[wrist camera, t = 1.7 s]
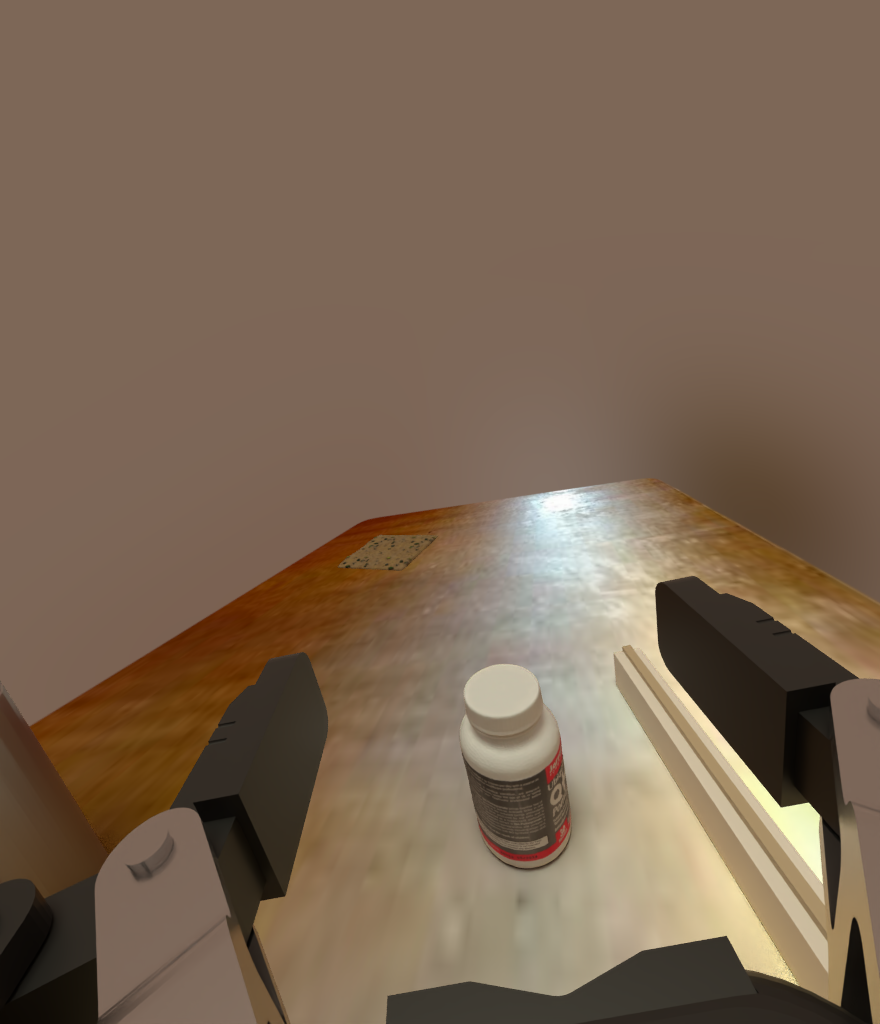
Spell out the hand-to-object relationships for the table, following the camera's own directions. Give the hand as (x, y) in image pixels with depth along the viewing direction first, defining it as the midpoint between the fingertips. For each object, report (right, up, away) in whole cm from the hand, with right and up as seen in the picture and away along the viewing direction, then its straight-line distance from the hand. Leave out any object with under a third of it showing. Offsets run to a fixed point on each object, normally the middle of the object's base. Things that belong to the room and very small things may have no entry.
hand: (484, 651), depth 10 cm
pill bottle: (+4, -15, +16) cm, 23 cm away
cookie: (-9, -3, +60) cm, 61 cm away
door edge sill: (+14, -13, +15) cm, 25 cm away
